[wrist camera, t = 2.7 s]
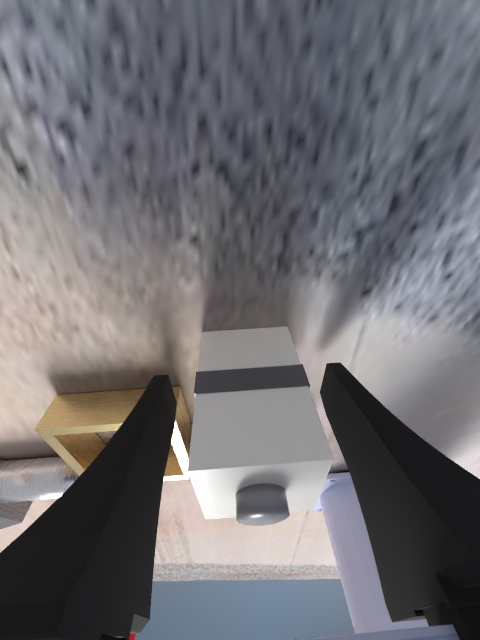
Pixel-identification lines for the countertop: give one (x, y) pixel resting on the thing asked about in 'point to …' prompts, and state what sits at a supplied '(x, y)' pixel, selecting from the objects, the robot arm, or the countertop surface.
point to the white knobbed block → (255, 429)
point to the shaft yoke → (80, 447)
